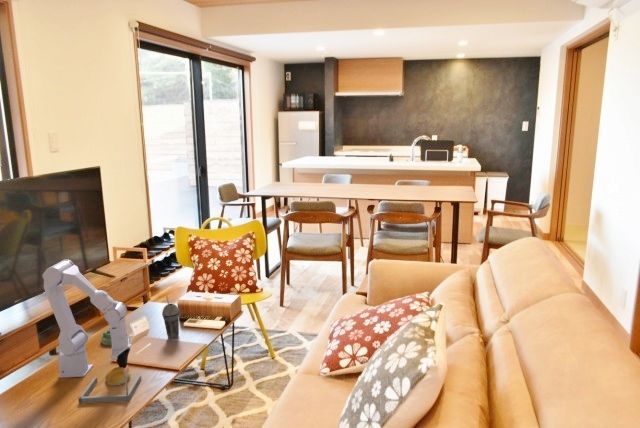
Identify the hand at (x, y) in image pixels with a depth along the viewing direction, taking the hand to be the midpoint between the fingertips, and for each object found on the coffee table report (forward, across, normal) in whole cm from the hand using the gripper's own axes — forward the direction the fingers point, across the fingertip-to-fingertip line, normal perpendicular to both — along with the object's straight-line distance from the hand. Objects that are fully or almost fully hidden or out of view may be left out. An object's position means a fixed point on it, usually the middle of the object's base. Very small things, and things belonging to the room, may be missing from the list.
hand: (123, 367), depth 182 cm
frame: (+2, -12, 0) cm, 12 cm away
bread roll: (+2, -5, 0) cm, 6 cm away
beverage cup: (+2, +27, -12) cm, 30 cm away
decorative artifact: (+2, +27, +14) cm, 31 cm away
